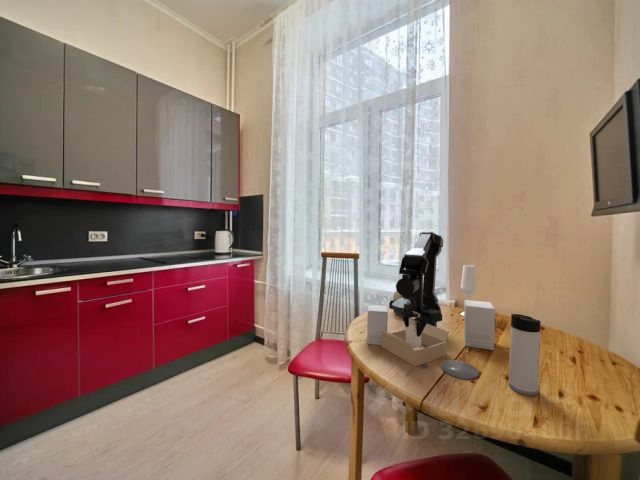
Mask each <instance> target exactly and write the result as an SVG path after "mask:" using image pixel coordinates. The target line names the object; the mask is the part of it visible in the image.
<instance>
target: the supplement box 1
mask: <svg viewBox="0 0 640 480" xmlns="http://www.w3.org/2000/svg"><path fill="white" fill-rule="evenodd" d="M388 312H389V311H388V307H387V306H385V305H368V306H367V326H366V327H367V329H366V331H367V336H366V338H367V341H366V342H367V343H366V344H367V345H376V346H382V335H383V334H382V332H381V331H380V329H382V330H384V331H386V332H388V322H389V320H388V319H389V318H388Z"/></svg>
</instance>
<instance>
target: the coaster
mask: <svg viewBox="0 0 640 480" xmlns="http://www.w3.org/2000/svg"><path fill="white" fill-rule="evenodd" d="M440 364H441V365H440V367H441V369H442V371H443V372H444V373H446V374H447V375H449V376H451V377H454V378H455V379H456V378H457V379H461V380H475V379H477V378H478V377H479V370H478V368H476V367H475V366H474V365H472V364H471V363H469V362H465V361H462V360H458V359H446V360H443V361H442V362H441V363H440Z"/></svg>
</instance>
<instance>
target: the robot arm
mask: <svg viewBox="0 0 640 480" xmlns="http://www.w3.org/2000/svg"><path fill="white" fill-rule="evenodd" d="M443 247H444V239H443V237H442V236H441V235H439V234H436V233H435V232H434V231H420V233H419V237H418V239H417V241H416V243H415V245H414V246H413V247H412V249H409V250H407V251H406V252H405V253H404V256H402V258H401V263H400V266H399V270H398V274H399V275H401V278H400V279H398V281H397V282H396V284H395V289H396V290H397V292H398V293H399V294H400V295H402V298H400V299H395V300H393V299H391V300H390V301H389V303H388V305H389V306H388V309H391V310H392V311H393V313H394V314H398V315H400V316H401V318H402V321H403V324H404V326H405V328H406V327H408V326H409V318H410V317H414V315H413V313H416V314H415V315H416V316H417V317H415V318H414V320H415V321H416V324H417V337H419V336H420V335H421V333H422V332H423V330H424V328H425V326H426V324H429V325H432V326H435V327H437V325H438V322H441V321H443V313H442V308H441V306H440V303H439V299H438V296H437V294H436V292H435V290H436V276H437V274H436V273H437V260H438V259H437V258H438V257H439V255H440V253H441V252H442V248H443ZM437 328H438V327H437Z"/></svg>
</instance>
